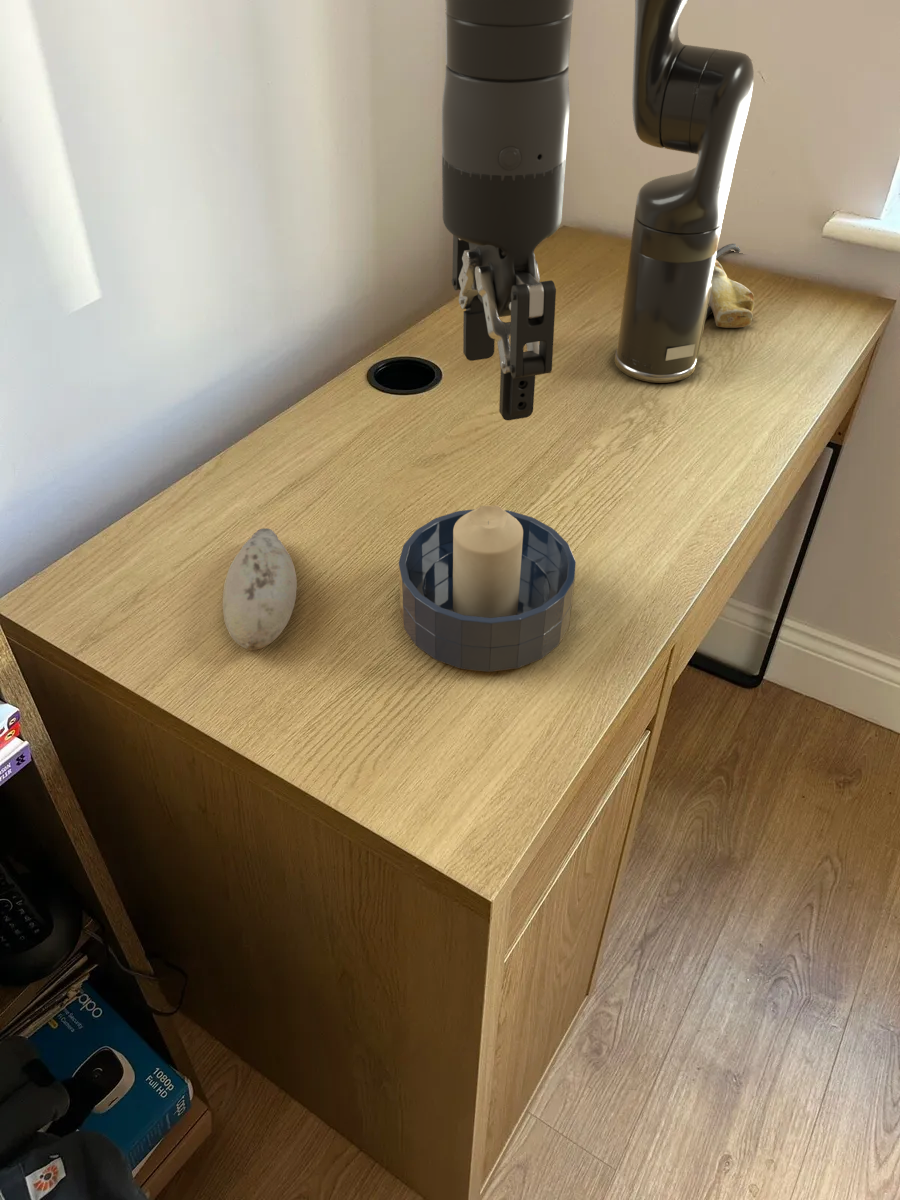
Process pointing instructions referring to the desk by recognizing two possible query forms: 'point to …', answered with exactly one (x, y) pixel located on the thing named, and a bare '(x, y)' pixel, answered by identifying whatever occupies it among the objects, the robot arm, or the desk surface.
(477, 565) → the candle
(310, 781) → the desk surface
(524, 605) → the bowl
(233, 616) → the decorative stone
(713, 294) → the figurine
